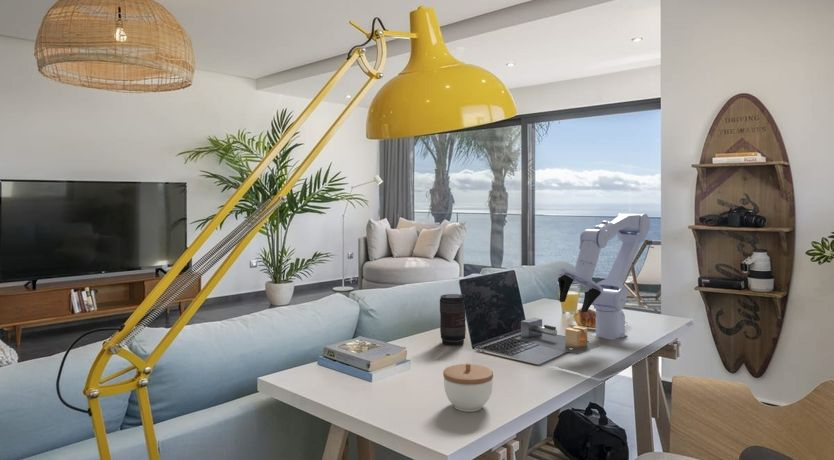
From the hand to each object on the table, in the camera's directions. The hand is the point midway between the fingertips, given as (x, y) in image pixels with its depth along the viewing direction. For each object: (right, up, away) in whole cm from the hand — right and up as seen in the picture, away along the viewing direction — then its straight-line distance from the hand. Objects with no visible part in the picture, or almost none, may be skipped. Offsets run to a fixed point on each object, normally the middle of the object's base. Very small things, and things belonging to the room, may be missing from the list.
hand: (573, 306), depth 159 cm
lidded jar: (-35, -16, -42) cm, 57 cm away
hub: (+1, -12, +1) cm, 12 cm away
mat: (-3, -12, +7) cm, 14 cm away
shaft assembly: (-7, -12, +11) cm, 17 cm away
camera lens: (-35, -13, +9) cm, 38 cm away
